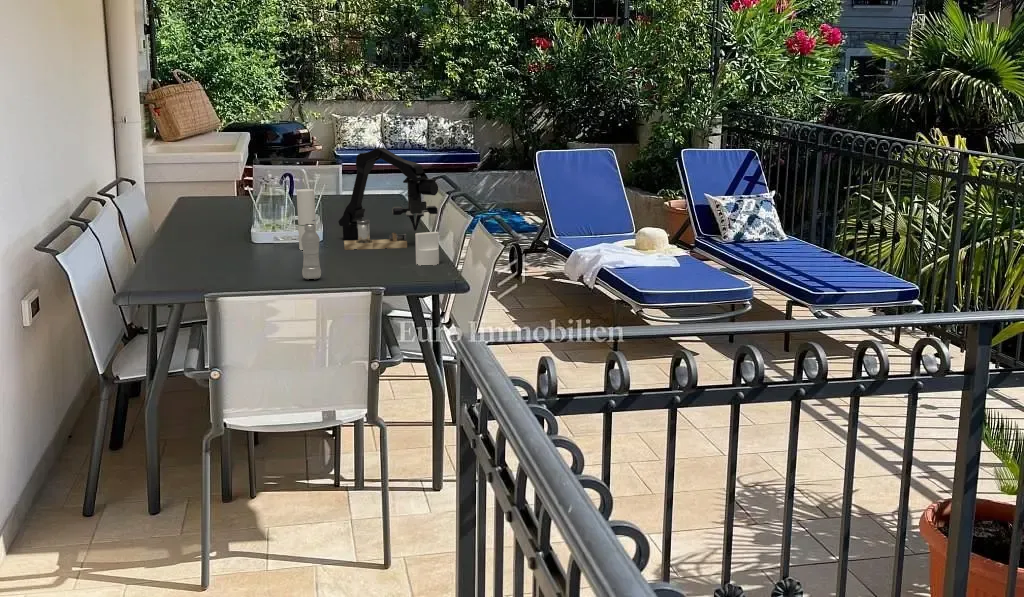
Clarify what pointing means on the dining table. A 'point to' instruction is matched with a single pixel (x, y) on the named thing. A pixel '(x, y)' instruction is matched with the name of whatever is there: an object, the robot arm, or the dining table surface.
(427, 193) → the robot arm
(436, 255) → the base with upright slab
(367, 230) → the grey metallic cylinder
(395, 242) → the dock
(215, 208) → the dining table surface
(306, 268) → the plastic bottle
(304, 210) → the cylindrical container
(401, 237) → the lock pin
